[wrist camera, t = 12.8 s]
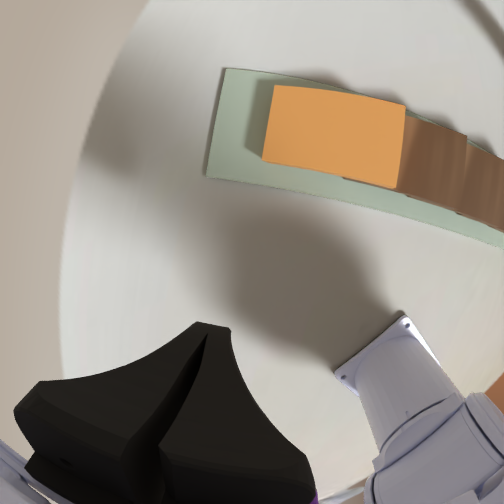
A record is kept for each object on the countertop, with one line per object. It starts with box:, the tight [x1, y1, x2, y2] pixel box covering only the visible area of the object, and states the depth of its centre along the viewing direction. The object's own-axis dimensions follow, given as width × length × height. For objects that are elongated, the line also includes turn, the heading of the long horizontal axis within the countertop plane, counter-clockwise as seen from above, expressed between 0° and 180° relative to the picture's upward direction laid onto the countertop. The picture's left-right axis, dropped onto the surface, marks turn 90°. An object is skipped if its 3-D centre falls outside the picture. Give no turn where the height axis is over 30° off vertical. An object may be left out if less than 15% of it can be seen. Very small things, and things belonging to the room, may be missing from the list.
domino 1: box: [343, 115, 467, 210], centre depth 15 cm, size 2×5×8 cm
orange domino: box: [262, 85, 406, 189], centre depth 15 cm, size 2×5×8 cm
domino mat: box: [206, 68, 504, 249], centre depth 17 cm, size 34×8×1 cm, turn 80°
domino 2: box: [407, 144, 504, 228], centre depth 15 cm, size 2×5×8 cm
